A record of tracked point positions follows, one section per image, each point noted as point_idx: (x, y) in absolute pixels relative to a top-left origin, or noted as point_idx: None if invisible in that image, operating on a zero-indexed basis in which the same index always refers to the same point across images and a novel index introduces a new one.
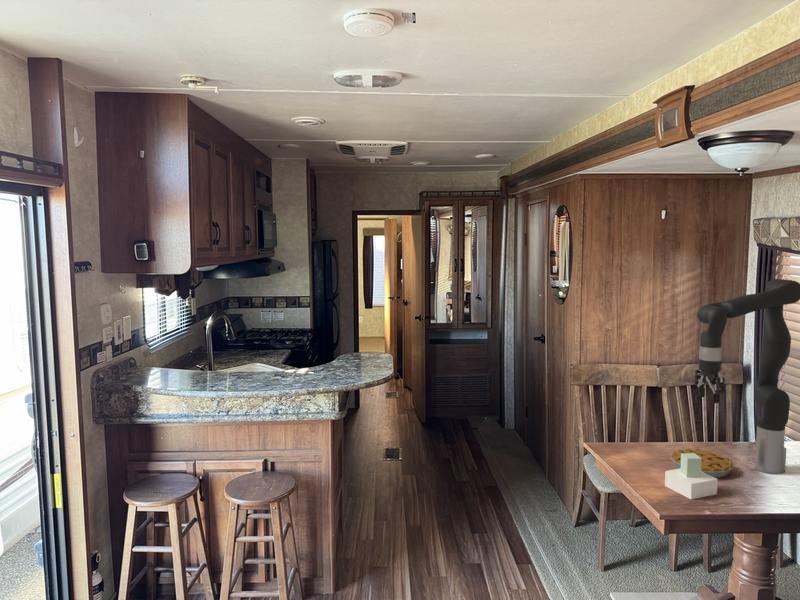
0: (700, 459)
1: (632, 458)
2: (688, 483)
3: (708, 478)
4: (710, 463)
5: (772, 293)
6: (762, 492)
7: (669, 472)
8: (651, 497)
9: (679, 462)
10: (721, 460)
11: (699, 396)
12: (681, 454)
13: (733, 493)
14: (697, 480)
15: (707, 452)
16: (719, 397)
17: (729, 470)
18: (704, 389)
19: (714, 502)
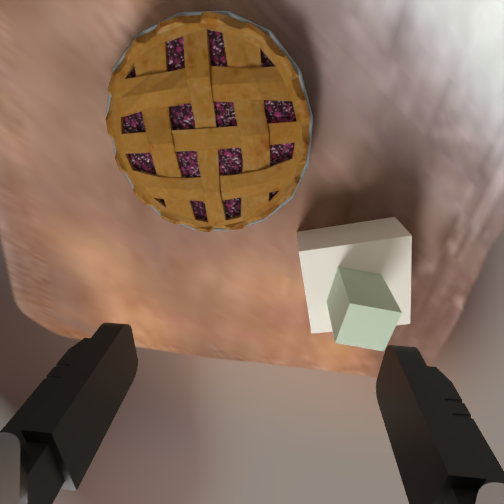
0: (399, 313)
1: (129, 285)
2: (398, 323)
3: (397, 259)
4: (264, 144)
5: None
6: (445, 55)
7: (322, 329)
8: (355, 362)
9: (220, 227)
10: (243, 74)
11: (133, 375)
12: (339, 341)
13: (410, 166)
14: (396, 296)
15: (139, 60)
16: (477, 433)
17: (302, 84)
18: (71, 411)
19: (433, 256)
